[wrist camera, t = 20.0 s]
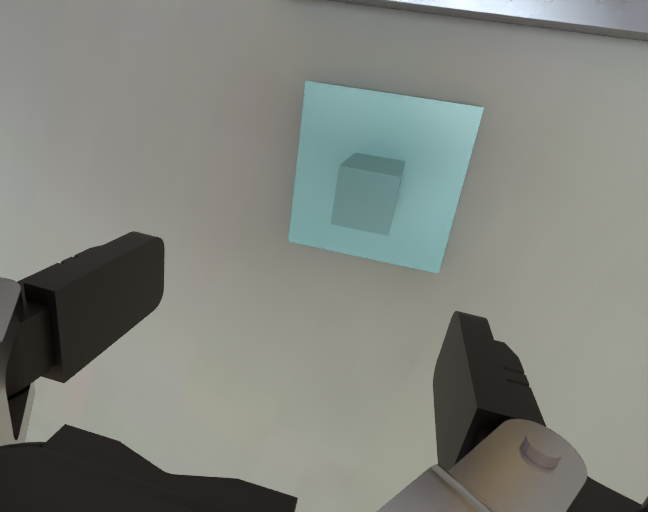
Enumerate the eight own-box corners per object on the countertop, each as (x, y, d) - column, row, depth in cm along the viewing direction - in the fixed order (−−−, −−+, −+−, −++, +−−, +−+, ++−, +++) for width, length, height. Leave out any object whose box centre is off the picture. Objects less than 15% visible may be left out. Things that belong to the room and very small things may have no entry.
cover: (294, 234, 29) (261, 270, 23) (312, 81, 25) (277, 77, 19) (437, 264, 27) (441, 311, 21) (480, 106, 23) (499, 110, 17)
